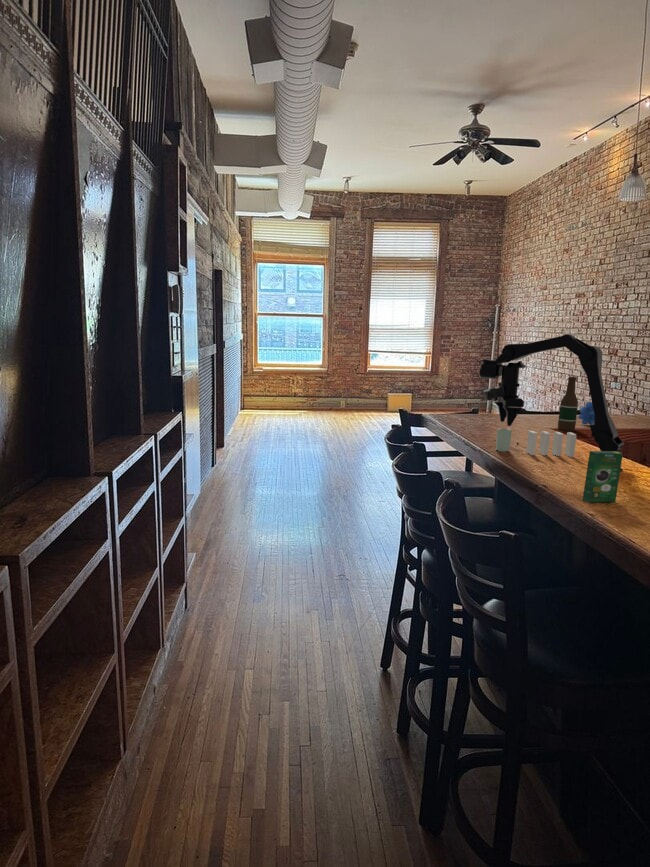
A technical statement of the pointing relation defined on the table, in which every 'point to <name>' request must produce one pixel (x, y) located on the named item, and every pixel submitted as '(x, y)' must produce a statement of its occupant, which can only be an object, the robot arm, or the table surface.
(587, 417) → the grapes
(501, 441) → the domino
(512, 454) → the table surface
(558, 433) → the domino
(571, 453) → the domino
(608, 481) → the coffee box
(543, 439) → the domino
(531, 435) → the domino
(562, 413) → the beer bottle
